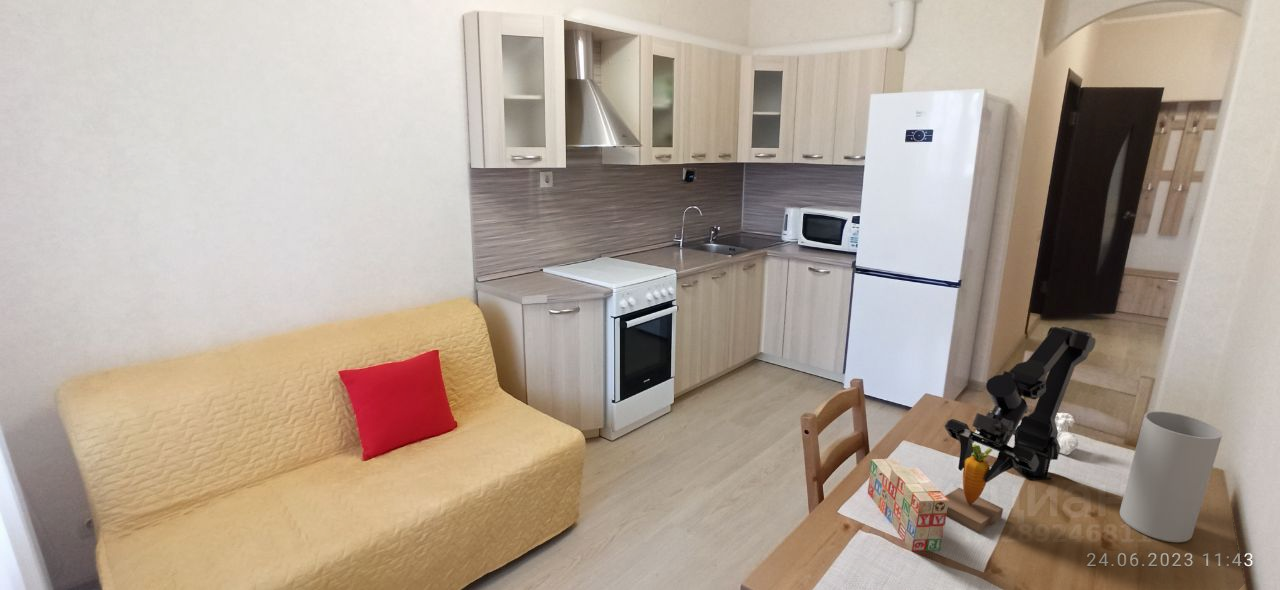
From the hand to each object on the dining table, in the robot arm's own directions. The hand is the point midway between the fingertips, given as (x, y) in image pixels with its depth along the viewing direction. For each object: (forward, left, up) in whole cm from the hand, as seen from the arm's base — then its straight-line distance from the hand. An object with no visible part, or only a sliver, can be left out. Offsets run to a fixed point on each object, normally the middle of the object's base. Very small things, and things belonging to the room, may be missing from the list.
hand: (972, 475), depth 133 cm
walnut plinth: (-1, -1, -10) cm, 11 cm away
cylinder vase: (-41, +4, -11) cm, 43 cm away
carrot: (-1, -1, -8) cm, 8 cm away
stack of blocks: (+15, +1, -11) cm, 19 cm away
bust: (-44, -31, -11) cm, 55 cm away
